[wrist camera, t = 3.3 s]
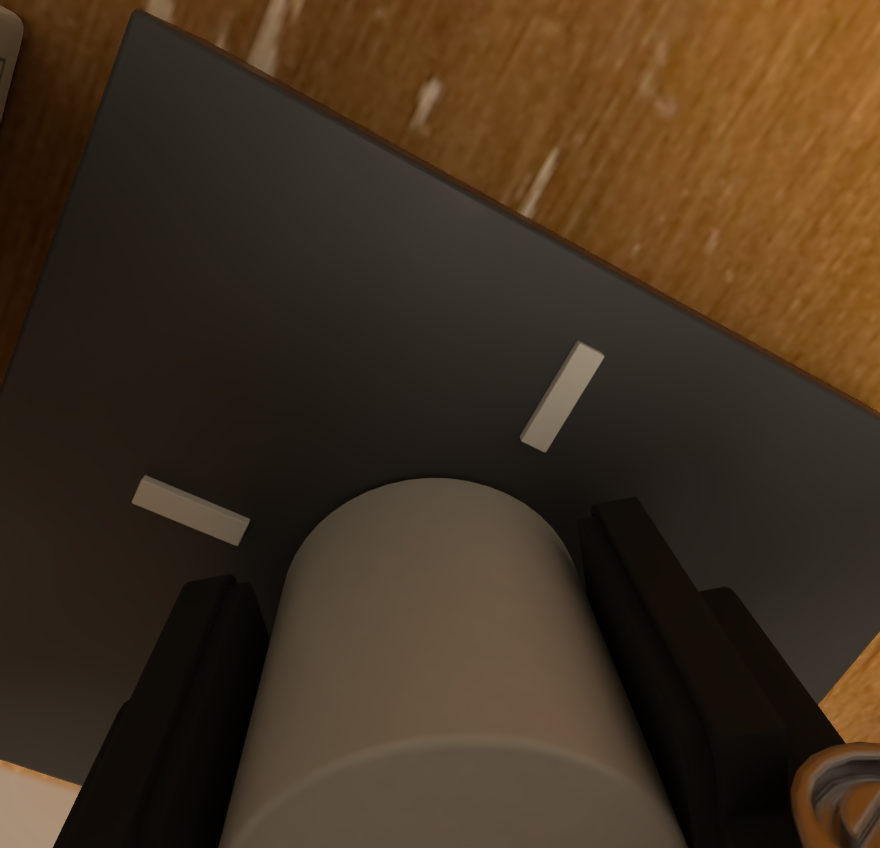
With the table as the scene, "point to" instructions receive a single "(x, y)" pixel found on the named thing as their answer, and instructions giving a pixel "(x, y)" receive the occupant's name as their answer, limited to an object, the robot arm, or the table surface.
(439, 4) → the table surface
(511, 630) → the hob knob
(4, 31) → the cosmetic box
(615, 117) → the table surface
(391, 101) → the table surface
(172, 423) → the panel
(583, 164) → the table surface
